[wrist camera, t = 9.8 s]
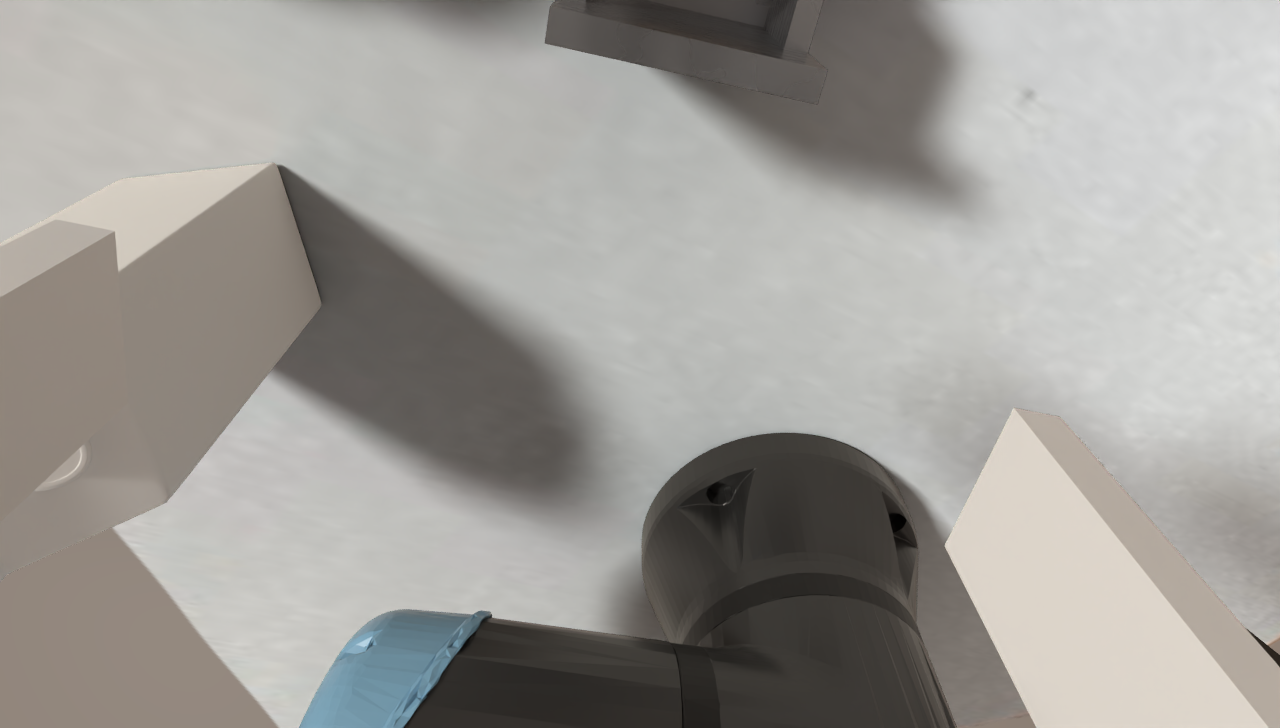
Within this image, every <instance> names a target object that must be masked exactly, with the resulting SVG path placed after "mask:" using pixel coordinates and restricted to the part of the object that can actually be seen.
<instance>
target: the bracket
mask: <svg viewBox="0 0 1280 728" xmlns="http://www.w3.org/2000/svg"><path fill="white" fill-rule="evenodd" d="M823 1H824V0H555V1H554V2H553V4H552V5H551V6H550V11H549V17H548V24H547V31H546V38H545V44H550V45H554V46H559V47H563V48H568V49H572V50H577V51H581V52H585V53H590V54H594V55H599V56H603V57H608V58H612V59H617V60H621V61H626V62H630V63H634V64H639V65H643V66H648V67H652V68H657V69H661V70H666V71H670V72H674V73H679V74H683V75H688V76H692V77H697V78H701V79H706V80H710V81H715V82H719V83H723V84H728V85H732V86H737V87H741V88H746V89H750V90H755V91H759V92H763V93H768V94H772V95H777V96H781V97H786V98H790V99H795V100H799V101H804V102H808V103H812V104H818V101H819V97H820V94H821V91H822V88H823V85H824V81H825V78H826V75H827V72H828V70H827V69H826V68H825V67H824V66H823V65H821V64H820V63H819V62H818V61H817V60H816V59H815V58H813V57H812V56H811V55H810V54H809V53H808V51H809V48H810V45H811V41H812V38H813V34H814V31H815V28H816V24H817V21H818V18H819V14H820V11H821V8H822V4H823Z"/></svg>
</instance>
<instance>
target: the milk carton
mask: <svg viewBox="0 0 1280 728" xmlns="http://www.w3.org/2000/svg"><path fill="white" fill-rule="evenodd" d="M55 219H56V220H61V221H67V222H72V223H77V224H82V225H87V226H92V227H97V228H102V229H107V230H112V231H115V238H116V250H117V263H118V276H119V288H120V301H121V314H122V327H123V339H124V352H125V365H126V378H127V390H128V403H127V404H126V405H125V406H124V407H123V408H122V409H121V410H120V411H119V412H118V413H117V414H116V415H115V416H114V417H112V418H111V419H110V420H109V421H108V422H107V423H106V424H105V425H104V426H103V427H102V428H101V429H100V430H99V431H97V432H96V433H95V434H94V435H93V436H92V437H91V438H90V439H89V440H88V441H87V442H86V443H85V444H84V445H82V446H81V447H80V448H79V449H78V450H77V451H76V452H75V453H74V454H73V455H72V456H71V457H70V458H69V459H67V460H66V461H65V462H64V463H63V464H62V465H61V466H60V467H59V468H58V469H57V470H56V471H55V472H54V473H52V474H51V475H50V476H49V477H48V478H47V479H46V480H45V481H44V482H43V483H42V484H41V485H40V486H39V487H37V488H36V489H35V490H34V491H33V492H32V493H31V494H30V495H29V496H28V497H27V498H26V499H25V500H23V501H22V502H21V503H20V504H19V505H18V506H17V507H16V508H15V509H14V510H13V511H12V512H11V513H10V514H8V515H7V516H6V517H5V518H4V519H3V520H2V521H1V522H0V582H1V580H3V579H4V577H5V576H6V575H7V574H10V573H12V572H14V571H16V570H19V569H21V568H23V567H25V566H27V565H30V564H32V563H34V562H36V561H39V560H41V559H43V558H45V557H47V556H49V555H52V554H54V553H56V552H58V551H61V550H63V549H65V548H67V547H69V546H72V545H74V544H76V543H78V542H81V541H83V540H85V539H87V538H89V537H92V536H94V535H96V534H98V533H100V532H103V531H105V530H107V529H109V528H112V527H114V526H116V525H118V524H120V523H123V522H125V521H127V520H129V519H131V518H134V517H136V516H138V515H140V514H143V513H145V512H147V511H149V510H151V509H154V508H156V507H158V506H160V505H162V504H164V503H166V502H167V501H168V500H169V498H170V497H171V496H172V495H173V494H174V493H175V492H176V490H177V489H178V488H179V487H180V485H181V484H182V483H183V482H184V480H185V479H186V478H187V477H188V475H189V474H190V473H191V471H192V470H193V469H194V468H195V466H196V465H197V464H198V463H199V461H200V460H201V459H202V458H203V456H204V455H205V454H206V452H207V451H208V450H209V449H210V447H211V446H212V445H213V444H214V442H215V441H216V440H217V438H218V437H219V436H220V435H221V433H222V432H223V431H224V430H225V428H226V427H227V426H228V425H229V423H230V422H231V421H232V419H233V418H234V417H235V416H236V414H237V413H238V412H239V411H240V409H241V408H242V407H243V405H244V404H245V403H246V402H247V400H248V399H249V398H250V397H251V395H252V394H253V393H254V392H255V390H256V389H257V388H258V386H259V385H260V384H261V383H262V381H263V380H264V379H265V378H266V376H267V375H268V374H269V372H270V371H271V370H272V369H273V367H274V366H275V365H276V364H277V362H278V361H279V360H280V359H281V357H282V356H283V355H284V353H285V352H286V351H287V350H288V348H289V347H290V346H291V345H292V343H293V342H294V341H295V339H296V338H297V337H298V336H299V334H300V333H301V332H302V331H303V329H304V328H305V327H306V325H307V324H308V323H309V322H310V320H311V319H312V318H313V317H314V315H315V314H316V313H317V312H318V310H319V309H320V307H321V299H320V296H319V293H318V290H317V287H316V283H315V280H314V277H313V274H312V271H311V268H310V265H309V262H308V259H307V256H306V253H305V249H304V246H303V243H302V240H301V237H300V234H299V231H298V228H297V225H296V222H295V219H294V216H293V212H292V209H291V206H290V203H289V200H288V197H287V194H286V191H285V188H284V185H283V182H282V179H281V176H280V173H279V170H278V167H277V165H276V164H275V163H263V164H253V165H244V166H235V167H225V168H216V169H207V170H198V171H188V172H179V173H170V174H161V175H151V176H142V177H133V178H124V179H121V180H118V181H116V182H114V183H112V184H111V185H109V186H107V187H105V188H103V189H101V190H99V191H97V192H96V193H94V194H92V195H90V196H88V197H86V198H84V199H82V200H80V201H79V202H77V203H75V204H73V205H71V206H69V207H67V208H65V209H63V210H62V211H60V212H58V213H56V214H54V215H52V216H50V217H48V218H47V219H45V220H43V221H41V222H39V223H37V224H35V225H33V226H31V227H30V228H28V229H26V230H24V231H22V232H20V233H18V234H16V235H14V236H13V237H11V238H9V239H7V240H5V241H3V242H1V243H0V247H1V246H3V245H5V244H7V243H9V242H11V241H13V240H15V239H17V238H19V237H21V236H23V235H25V234H27V233H29V232H31V231H33V230H35V229H37V228H39V227H41V226H43V225H45V224H47V223H49V222H51V221H53V220H55Z"/></svg>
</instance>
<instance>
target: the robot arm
mask: <svg viewBox="0 0 1280 728" xmlns="http://www.w3.org/2000/svg"><path fill="white" fill-rule="evenodd" d="M127 403H128V390H127V378H126V365H125V352H124V339H123V327H122V314H121V301H120V288H119V276H118V263H117V250H116V238H115V231H112V230H107V229H102V228H97V227H92V226H87V225H82V224H77V223H72V222H67V221H61V220H56V219H55V220H53V221H51V222H49V223H47V224H45V225H43V226H41V227H39V228H37V229H35V230H33V231H31V232H29V233H27V234H25V235H23V236H21V237H19V238H17V239H15V240H13V241H11V242H9V243H7V244H5V245H3V246H1V247H0V522H1V521H2V520H3V519H4V518H5V517H6V516H7V515H8V514H10V513H11V512H12V511H13V510H14V509H15V508H16V507H17V506H18V505H19V504H20V503H21V502H22V501H23V500H25V499H26V498H27V497H28V496H29V495H30V494H31V493H32V492H33V491H34V490H35V489H36V488H37V487H39V486H40V485H41V484H42V483H43V482H44V481H45V480H46V479H47V478H48V477H49V476H50V475H51V474H52V473H54V472H55V471H56V470H57V469H58V468H59V467H60V466H61V465H62V464H63V463H64V462H65V461H66V460H67V459H69V458H70V457H71V456H72V455H73V454H74V453H75V452H76V451H77V450H78V449H79V448H80V447H81V446H82V445H84V444H85V443H86V442H87V441H88V440H89V439H90V438H91V437H92V436H93V435H94V434H95V433H96V432H97V431H99V430H100V429H101V428H102V427H103V426H104V425H105V424H106V423H107V422H108V421H109V420H110V419H111V418H112V417H114V416H115V415H116V414H117V413H118V412H119V411H120V410H121V409H122V408H123V407H124V406H125V405H126V404H127ZM945 548H946V550H947V552H948V554H949V556H950V558H951V560H952V562H953V564H954V566H955V568H956V570H957V572H958V574H959V576H960V578H961V580H962V582H963V584H964V586H965V588H966V590H967V592H968V594H969V596H970V598H971V600H972V602H973V604H974V606H975V607H976V609H977V611H978V613H979V615H980V617H981V619H982V621H983V623H984V625H985V627H986V629H987V631H988V633H989V635H990V637H991V639H992V641H993V643H994V645H995V647H996V649H997V651H998V653H999V655H1000V657H1001V659H1002V661H1003V663H1004V665H1005V667H1006V669H1007V671H1008V673H1009V675H1010V677H1011V679H1012V681H1013V683H1014V685H1015V687H1016V689H1017V691H1018V693H1019V695H1020V697H1021V699H1022V701H1023V703H1024V705H1025V707H1026V709H1027V710H1028V712H1029V714H1030V716H1031V718H1032V720H1033V722H1034V724H1035V726H1036V728H1280V655H1279V654H1278V653H1276V652H1275V651H1274V650H1273V649H1271V648H1270V647H1269V646H1268V645H1266V644H1265V643H1264V642H1263V641H1261V640H1260V639H1259V638H1258V637H1256V636H1255V635H1254V634H1253V633H1251V632H1250V631H1249V630H1247V629H1246V628H1245V627H1244V626H1243V625H1242V624H1241V622H1240V621H1239V620H1238V619H1237V618H1236V617H1235V616H1234V614H1233V613H1232V612H1231V611H1230V610H1229V609H1228V608H1227V606H1226V605H1225V604H1224V603H1223V602H1222V601H1221V600H1220V598H1219V597H1218V596H1217V595H1216V594H1215V593H1214V592H1213V591H1212V589H1211V588H1210V587H1209V586H1208V585H1207V584H1206V583H1205V581H1204V580H1203V579H1202V578H1201V577H1200V576H1199V575H1198V573H1197V572H1196V571H1195V570H1194V569H1193V568H1192V567H1191V565H1190V564H1189V563H1188V562H1187V561H1186V560H1185V559H1184V557H1183V556H1182V555H1181V554H1180V553H1179V552H1178V551H1177V549H1176V548H1175V547H1174V546H1173V545H1172V544H1171V543H1170V542H1169V540H1168V539H1167V538H1166V537H1165V536H1164V535H1163V534H1162V532H1161V531H1160V530H1159V529H1158V528H1157V527H1156V526H1155V524H1154V523H1153V522H1152V521H1151V520H1150V519H1149V518H1148V516H1147V515H1146V514H1145V513H1144V512H1143V511H1142V510H1141V508H1140V507H1139V506H1138V505H1137V504H1136V503H1135V502H1134V500H1133V499H1132V498H1131V497H1130V496H1129V495H1128V494H1127V492H1126V491H1125V490H1124V489H1123V488H1122V487H1121V486H1120V485H1119V483H1118V482H1117V481H1116V480H1115V479H1114V478H1113V477H1112V475H1111V474H1110V473H1109V472H1108V471H1107V470H1106V469H1105V467H1104V466H1103V465H1102V464H1101V463H1100V462H1099V461H1098V459H1097V458H1096V457H1095V456H1094V455H1093V454H1092V453H1091V451H1090V450H1089V449H1088V448H1087V447H1086V446H1085V445H1084V443H1083V442H1082V441H1081V440H1080V439H1079V438H1078V437H1077V435H1076V434H1075V433H1074V432H1073V431H1072V430H1071V429H1070V428H1069V426H1068V425H1067V424H1066V423H1065V422H1064V421H1063V420H1062V418H1061V417H1059V416H1053V415H1048V414H1043V413H1038V412H1033V411H1028V410H1023V409H1018V408H1013V410H1012V412H1011V414H1010V416H1009V418H1008V420H1007V422H1006V424H1005V426H1004V428H1003V430H1002V432H1001V434H1000V436H999V438H998V440H997V442H996V444H995V446H994V448H993V450H992V452H991V454H990V456H989V458H988V460H987V462H986V464H985V466H984V468H983V470H982V472H981V474H980V476H979V478H978V480H977V482H976V484H975V486H974V488H973V490H972V492H971V494H970V496H969V498H968V500H967V502H966V504H965V506H964V508H963V510H962V512H961V514H960V516H959V518H958V520H957V522H956V524H955V526H954V528H953V530H952V532H951V534H950V536H949V538H948V540H947V542H946V544H945ZM642 575H643V581H644V586H645V590H646V593H647V596H648V599H649V601H650V604H651V606H652V608H653V610H654V612H655V614H656V616H657V619H658V621H659V623H660V625H661V627H662V629H663V631H664V634H665V636H666V638H667V640H668V641H660V640H653V639H646V638H638V637H631V636H623V635H616V634H608V633H601V632H593V631H586V630H578V629H571V628H564V627H556V626H549V625H541V624H534V623H526V622H519V621H511V620H504V619H496V618H492V614H491V612H488V611H478V612H476V613H475V614H473V615H470V614H458V613H446V612H434V611H422V610H409V609H404V610H395V611H390V612H387V613H384V614H382V615H379V616H377V617H376V618H374V619H372V620H371V621H369V622H368V623H367V624H365V625H364V626H363V627H362V628H361V629H360V630H359V631H358V632H357V633H356V634H355V635H354V636H353V637H352V638H351V639H350V640H349V641H348V643H347V644H346V645H345V647H344V648H343V649H342V651H341V652H340V654H339V655H338V657H337V658H336V660H335V661H334V663H333V665H332V666H331V668H330V669H329V671H328V673H327V674H326V676H325V678H324V679H323V681H322V683H321V685H320V687H319V688H318V690H317V692H316V694H315V696H314V698H313V700H312V702H311V704H310V706H309V708H308V710H307V712H306V714H305V716H304V718H303V720H302V722H301V724H300V726H299V728H957V726H956V724H955V721H954V719H953V716H952V714H951V711H950V708H949V706H948V703H947V701H946V698H945V696H944V693H943V691H942V688H941V686H940V683H939V680H938V678H937V675H936V673H935V670H934V668H933V665H932V663H931V660H930V658H929V655H928V652H927V650H926V648H925V646H924V643H923V641H922V638H921V635H920V633H919V630H918V627H917V624H916V615H917V583H918V542H917V536H916V531H915V527H914V524H913V521H912V519H911V516H910V514H909V512H908V509H907V507H906V505H905V502H904V500H903V498H902V496H901V494H900V492H899V490H898V488H897V486H896V485H895V483H894V481H893V480H892V479H891V477H890V476H889V475H888V474H887V473H886V472H885V471H884V469H883V468H881V467H880V466H879V465H878V464H877V463H876V462H875V461H873V460H872V459H871V458H869V457H868V456H866V455H865V454H863V453H862V452H860V451H858V450H856V449H854V448H852V447H850V446H848V445H846V444H843V443H840V442H838V441H835V440H831V439H828V438H824V437H820V436H815V435H808V434H798V433H772V434H763V435H756V436H751V437H746V438H742V439H738V440H735V441H732V442H729V443H726V444H723V445H721V446H718V447H716V448H714V449H711V450H709V451H708V452H706V453H704V454H702V455H700V456H699V457H697V458H695V459H694V460H692V461H691V462H689V463H688V464H686V465H685V466H684V467H683V468H681V469H680V470H679V471H678V472H677V473H676V474H674V475H673V476H672V477H671V478H670V479H669V481H668V482H667V483H666V484H665V485H664V486H663V488H662V489H661V490H660V491H659V493H658V494H657V496H656V497H655V499H654V501H653V503H652V504H651V506H650V509H649V511H648V513H647V516H646V519H645V522H644V527H643V532H642Z"/></svg>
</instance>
